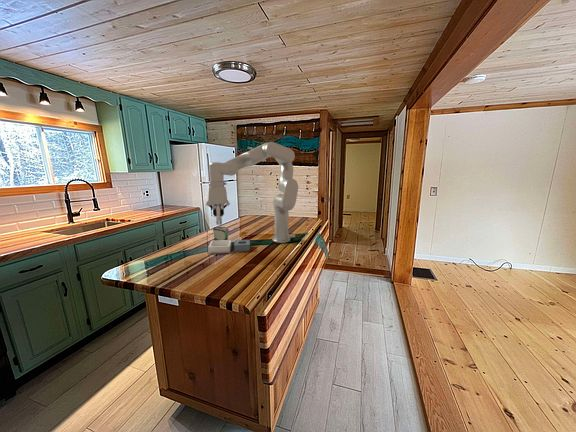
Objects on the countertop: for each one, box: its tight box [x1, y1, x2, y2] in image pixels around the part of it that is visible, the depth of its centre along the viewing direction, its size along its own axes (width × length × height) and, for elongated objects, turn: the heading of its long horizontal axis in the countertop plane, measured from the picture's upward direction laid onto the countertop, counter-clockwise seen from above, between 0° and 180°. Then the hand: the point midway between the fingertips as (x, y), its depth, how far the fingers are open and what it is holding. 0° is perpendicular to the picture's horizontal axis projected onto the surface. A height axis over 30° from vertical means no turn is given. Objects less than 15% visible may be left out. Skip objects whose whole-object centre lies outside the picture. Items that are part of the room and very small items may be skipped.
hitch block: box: [233, 239, 251, 253], centre depth 142 cm, size 9×9×4 cm
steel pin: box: [215, 204, 223, 226], centre depth 136 cm, size 3×3×12 cm
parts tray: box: [207, 239, 232, 255], centre depth 140 cm, size 12×12×4 cm
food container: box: [212, 226, 230, 241], centre depth 153 cm, size 12×6×10 cm, turn 58°
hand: (218, 215), depth 136 cm, fingers closed on steel pin, 3 cm apart
